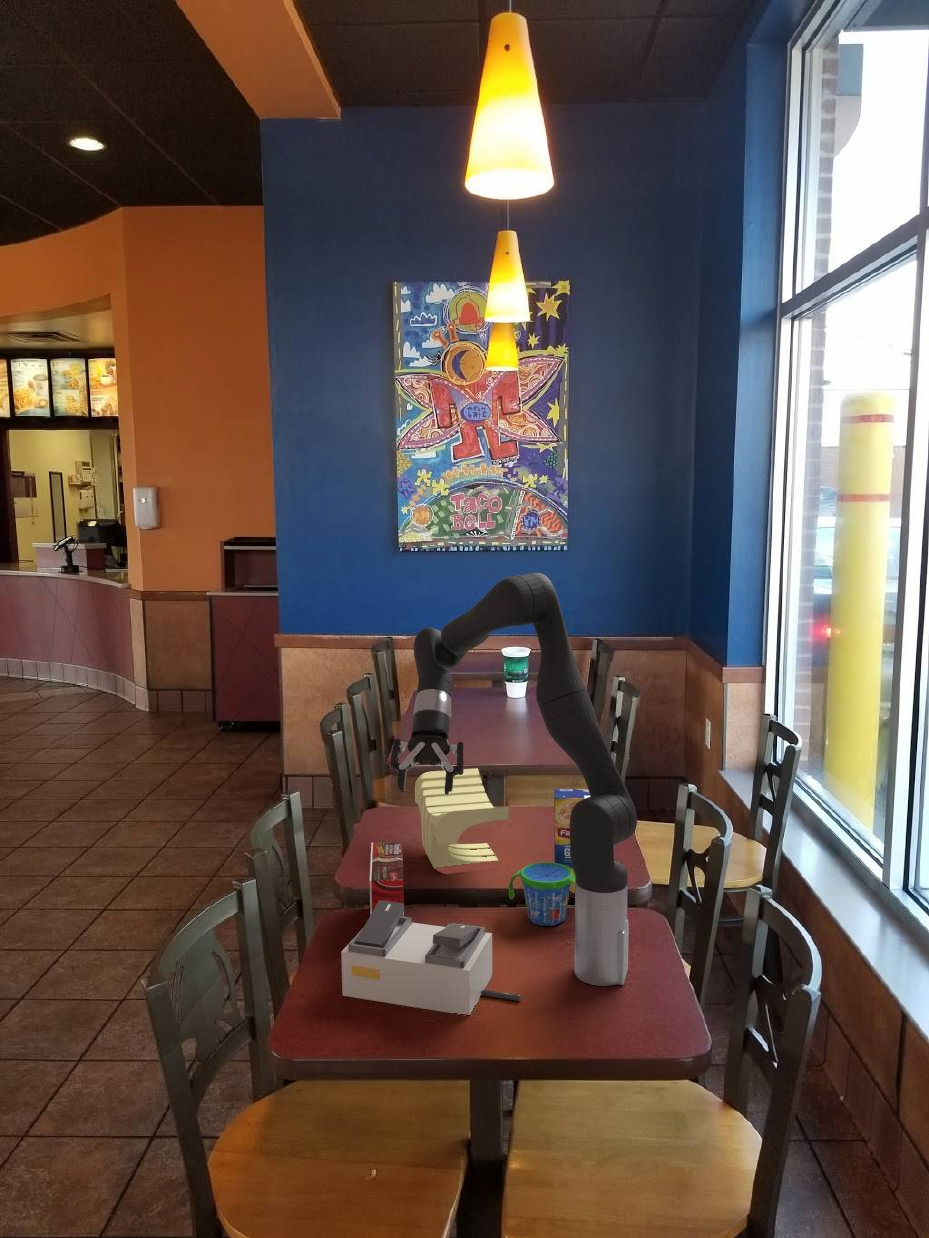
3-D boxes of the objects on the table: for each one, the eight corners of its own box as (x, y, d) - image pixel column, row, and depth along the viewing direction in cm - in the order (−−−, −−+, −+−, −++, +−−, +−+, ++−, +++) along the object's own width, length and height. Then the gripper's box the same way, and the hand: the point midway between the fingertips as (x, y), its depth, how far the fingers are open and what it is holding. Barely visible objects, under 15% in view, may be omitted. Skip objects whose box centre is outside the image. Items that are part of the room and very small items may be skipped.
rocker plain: (477, 935, 170) (478, 926, 170) (459, 947, 160) (460, 938, 160) (452, 931, 172) (452, 923, 172) (432, 943, 161) (433, 934, 161)
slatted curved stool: (415, 842, 238) (414, 772, 236) (478, 836, 241) (477, 768, 239) (438, 890, 209) (437, 812, 206) (509, 884, 212) (509, 806, 210)
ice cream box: (372, 902, 203) (371, 842, 202) (402, 901, 204) (401, 841, 202) (371, 947, 184) (369, 880, 182) (404, 945, 184) (403, 879, 182)
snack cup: (500, 922, 194) (500, 874, 192) (521, 902, 203) (521, 856, 202) (573, 938, 187) (574, 888, 185) (591, 916, 196) (592, 868, 195)
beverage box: (606, 899, 204) (607, 799, 201) (554, 898, 205) (554, 798, 202) (603, 886, 211) (605, 789, 208) (553, 884, 212) (554, 788, 209)
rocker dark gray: (404, 909, 174) (403, 903, 174) (382, 951, 165) (381, 944, 164) (379, 906, 176) (378, 899, 175) (357, 947, 166) (355, 940, 165)
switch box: (530, 980, 170) (530, 931, 169) (510, 1023, 157) (510, 970, 156) (373, 957, 179) (372, 911, 178) (341, 996, 166) (340, 946, 164)
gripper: (395, 706, 190) (385, 781, 181) (466, 709, 189) (460, 785, 180) (398, 724, 196) (389, 797, 187) (467, 727, 196) (462, 801, 187)
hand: (424, 791), depth 184 cm, fingers open, 8 cm apart
